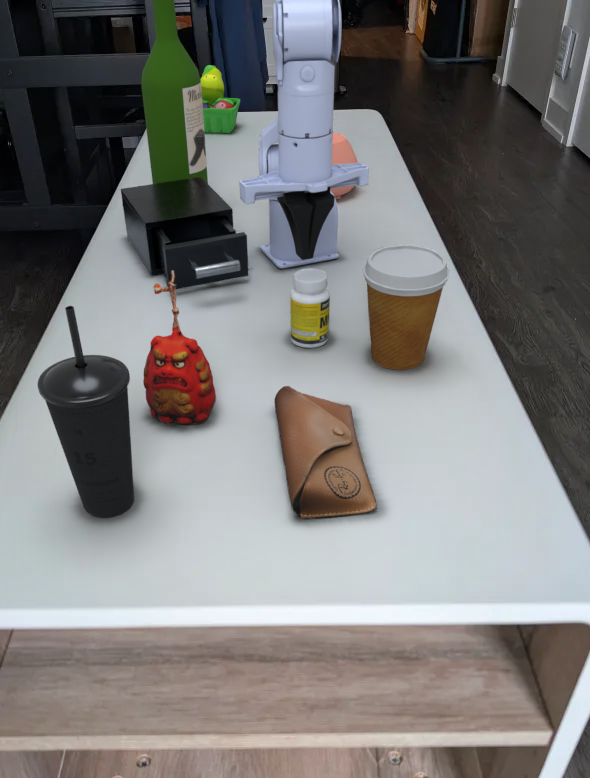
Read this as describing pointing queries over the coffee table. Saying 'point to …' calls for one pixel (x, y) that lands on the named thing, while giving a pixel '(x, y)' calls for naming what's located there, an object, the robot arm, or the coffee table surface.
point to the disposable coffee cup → (403, 302)
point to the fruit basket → (217, 103)
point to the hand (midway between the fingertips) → (304, 255)
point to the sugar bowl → (342, 159)
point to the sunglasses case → (321, 457)
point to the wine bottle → (173, 104)
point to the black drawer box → (167, 211)
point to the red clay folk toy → (178, 374)
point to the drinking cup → (92, 425)
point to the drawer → (200, 251)
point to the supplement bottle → (310, 308)
